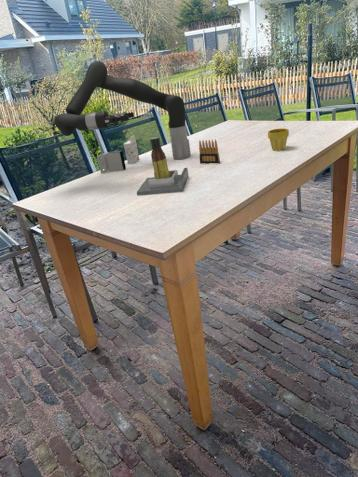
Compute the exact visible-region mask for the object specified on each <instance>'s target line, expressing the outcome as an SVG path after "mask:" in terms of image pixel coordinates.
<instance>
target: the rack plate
mask: <svg viewBox="0 0 358 477" xmlns="http://www.w3.org/2000/svg"><path fill="white" fill-rule="evenodd" d="M188 169H189V168H188V167H184V168H183V170H182V172H181V174H179V171H178V169H174V170H173V169H172V170H169V175H170V178H160V179H156V177H155V172H154V171H153V175H154V176H153V177H146V179H145V180H144V182H143V183H142V184H141V186H140V187H139V188H138V190H137V191H136V196H145V195H157V194H168V193H179V192H180V193H181V192H184V189H185V187H186V185H187V182H188V179H189V177H190V176H189V170H188Z"/></svg>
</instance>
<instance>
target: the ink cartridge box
mask: <svg viewBox="0 0 358 477" xmlns="http://www.w3.org/2000/svg"><path fill="white" fill-rule="evenodd" d="M123 148H124V153H125V157H126V161H127V164H128V165H129V164H130V165H131V164H136V163H138V161H139V160H140V157H139V156H140V155H139V151H138V145H137V140H136V136H135V134H133V135H131V136H130V137H129V140H127V141H126V142H124V143H123Z"/></svg>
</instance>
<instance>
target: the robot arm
mask: <svg viewBox="0 0 358 477" xmlns="http://www.w3.org/2000/svg"><path fill="white" fill-rule="evenodd" d="M97 88H100V89H104V90H107V91H111V92H113V93H117V94H119V95H122V96H125V97H127V98H129V99H132V100H135V101H137V102H141V103H144V104H148V105H149V104H150V105H153V106H156V107H158V108H159V109H162V110H164V111H166V112H167V113H168V124H167V125H168V131H169V138H170V144H171V152H172V158H173V160H184V159H188V158H189V157H192V155H191V147H190V139H189V138H188V134H187V128H186V120H187V118H186V108H185V103H184V99H183V97H181V96H179V95H177V94H176V95H174V94H168V93H165V92H161V91H159V90H158V89H157V90H156V89H155V88H153V87H152V86H151V85H149V84H147V83H145V82H143V81H140V80H137V79H135V78H130V77H115V76H112V75H110V74H108V67H107V66H106V65H105V63H104V62H102V61H99V60H95V61H93V62H91V63H90V64H89V65H88V67H87V69H86V72H85V77H84V79H83V81H82V83H81V84H80V86H79V87H78V89H77V90H76V92H75V93H74V94H73V96H72V97H71V99H70V101H69V103H68V104H67V105H66V107H65V112H64V113H60V114H57V115H56V116H54V119H53V123H54V124H53V125H54V126H55V127H56V128H57V129H58V131H59V132H60V133H61V134H62V135H63V136H65V137H69V136H72V135H73V134H75V131H76V130H78V131H81V132H83V131H90V130H92V131H93V130H102V129H108V128H110V125H112V124H113V125H114V124H118V123H121V122H126V121H127V122H128V121H129V120H130V119H131V118H135V113H134V112H133V111H132V112H124V111H123V112H117V113H110V114H109V113H108V111H106V110H102V111H93V112H90V113H84V114H82V113H83V111H84V110H85V108H86V107H87V105H88V102H89V101H90V99H91V98H92V97H91V96H92V95H93V93H94V92H95V90H96V89H97Z"/></svg>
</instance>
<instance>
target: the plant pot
mask: <svg viewBox="0 0 358 477" xmlns="http://www.w3.org/2000/svg"><path fill="white" fill-rule="evenodd" d="M289 133H290V132H289V128H284V127H283V128H282V127H281V128H273V129H271V130H268V131H267V138H268V139H269V141H270V146H271V147H270V148H271V150H272V149H273V150H272V151H274V150H280V151H283V150H282V149H284V150H285V149H286V146H287V141H288V138H289V135H290V134H289Z"/></svg>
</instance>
